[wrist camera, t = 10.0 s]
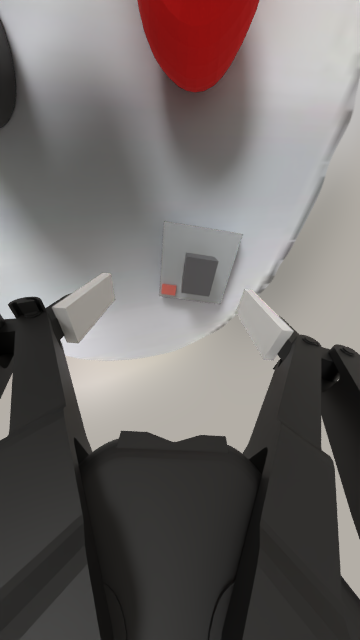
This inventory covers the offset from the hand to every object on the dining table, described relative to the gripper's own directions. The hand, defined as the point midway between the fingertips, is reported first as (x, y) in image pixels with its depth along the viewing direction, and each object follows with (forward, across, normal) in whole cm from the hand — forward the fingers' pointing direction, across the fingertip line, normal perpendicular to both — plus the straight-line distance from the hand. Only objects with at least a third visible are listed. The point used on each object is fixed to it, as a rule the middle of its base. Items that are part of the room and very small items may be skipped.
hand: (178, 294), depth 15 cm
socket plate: (+19, +4, -2) cm, 20 cm away
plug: (+19, +4, -2) cm, 20 cm away
